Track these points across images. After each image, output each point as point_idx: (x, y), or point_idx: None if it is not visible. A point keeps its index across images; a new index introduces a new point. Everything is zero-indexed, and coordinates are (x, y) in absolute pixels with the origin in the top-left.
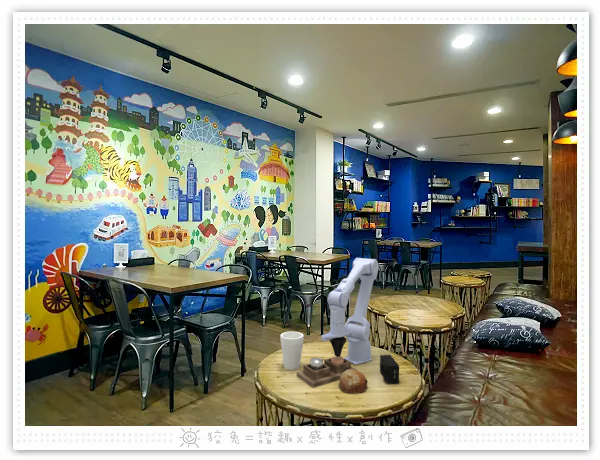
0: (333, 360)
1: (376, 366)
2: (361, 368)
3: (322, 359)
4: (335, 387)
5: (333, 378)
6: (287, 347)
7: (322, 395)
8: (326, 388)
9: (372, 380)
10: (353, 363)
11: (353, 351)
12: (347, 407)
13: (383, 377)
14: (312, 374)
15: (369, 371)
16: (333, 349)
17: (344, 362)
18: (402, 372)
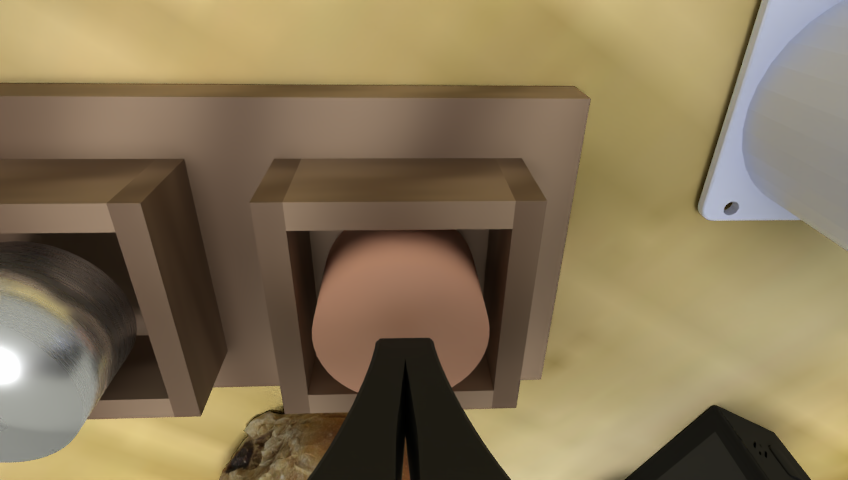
0: (318, 351)
1: (809, 323)
2: (667, 290)
3: (77, 416)
4: (210, 428)
5: (240, 379)
6: None
7: (55, 465)
8: None
9: (539, 462)
10: (706, 181)
11: (841, 218)
12: None
13: (640, 469)
14: None
15: (662, 362)
16: (353, 408)
17: (493, 322)
18: (823, 468)
